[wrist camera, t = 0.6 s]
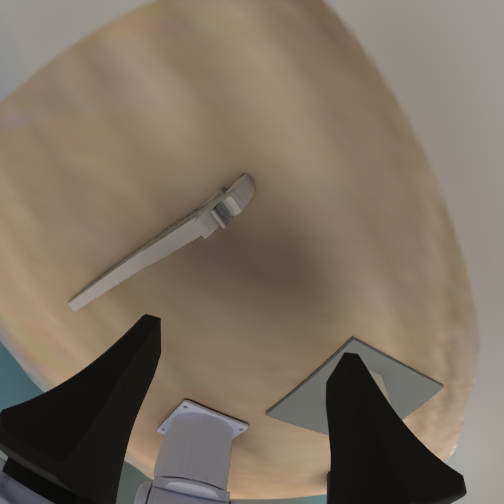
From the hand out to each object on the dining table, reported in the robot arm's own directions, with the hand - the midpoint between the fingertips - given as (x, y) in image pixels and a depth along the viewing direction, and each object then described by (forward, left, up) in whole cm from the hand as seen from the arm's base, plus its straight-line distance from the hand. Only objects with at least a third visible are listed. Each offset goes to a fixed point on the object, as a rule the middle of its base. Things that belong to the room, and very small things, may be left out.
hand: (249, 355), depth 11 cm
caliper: (-6, +7, -11) cm, 14 cm away
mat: (-9, -19, -11) cm, 24 cm away
